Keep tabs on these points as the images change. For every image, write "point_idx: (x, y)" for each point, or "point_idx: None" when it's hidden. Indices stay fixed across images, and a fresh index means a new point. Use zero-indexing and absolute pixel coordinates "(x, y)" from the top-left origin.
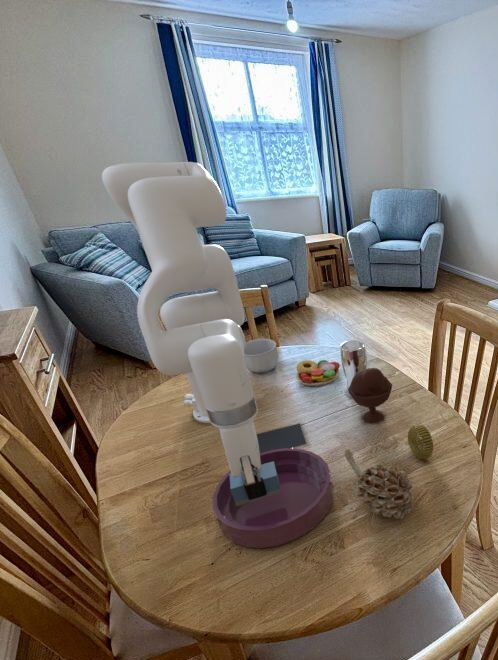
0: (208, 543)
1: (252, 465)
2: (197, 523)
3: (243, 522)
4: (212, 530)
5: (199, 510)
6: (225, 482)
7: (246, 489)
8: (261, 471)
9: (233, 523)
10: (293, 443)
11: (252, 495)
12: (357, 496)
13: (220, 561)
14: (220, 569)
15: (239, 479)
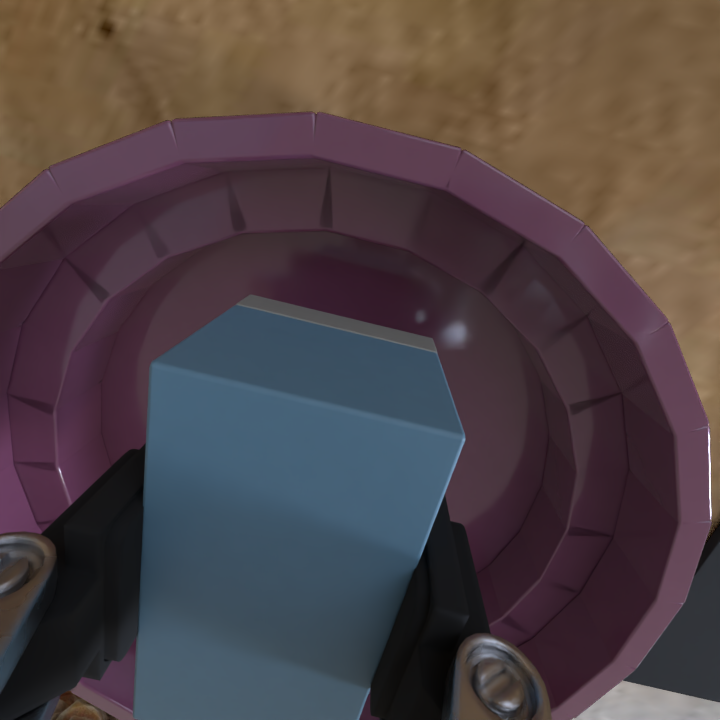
0: (271, 46)
1: (389, 666)
2: (487, 21)
3: (278, 273)
4: (360, 98)
5: (598, 65)
6: (592, 306)
7: (121, 475)
8: (266, 665)
9: (35, 219)
10: (675, 648)
11: (120, 460)
12: (81, 706)
13: (102, 77)
14: (47, 61)
15: (266, 492)
